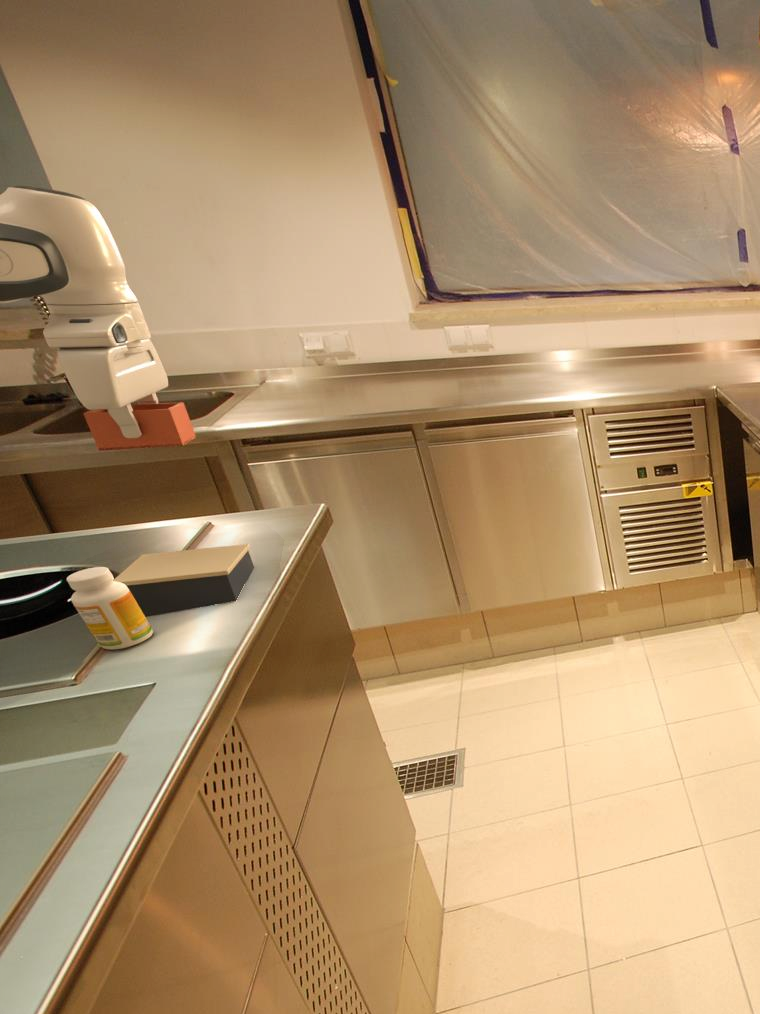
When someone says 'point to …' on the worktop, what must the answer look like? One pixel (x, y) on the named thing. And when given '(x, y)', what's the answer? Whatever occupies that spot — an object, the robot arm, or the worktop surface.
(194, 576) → the slate storage box
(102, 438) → the terracotta tub
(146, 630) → the supplement bottle
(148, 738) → the worktop surface
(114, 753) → the worktop surface
